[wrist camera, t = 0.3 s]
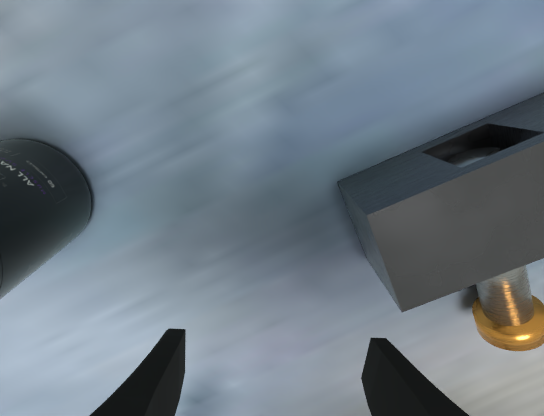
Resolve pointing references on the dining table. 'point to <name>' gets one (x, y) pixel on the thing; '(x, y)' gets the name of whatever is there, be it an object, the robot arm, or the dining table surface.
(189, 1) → the dining table surface
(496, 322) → the lynch pin
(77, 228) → the supplement bottle
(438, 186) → the hitch beam
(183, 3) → the dining table surface
